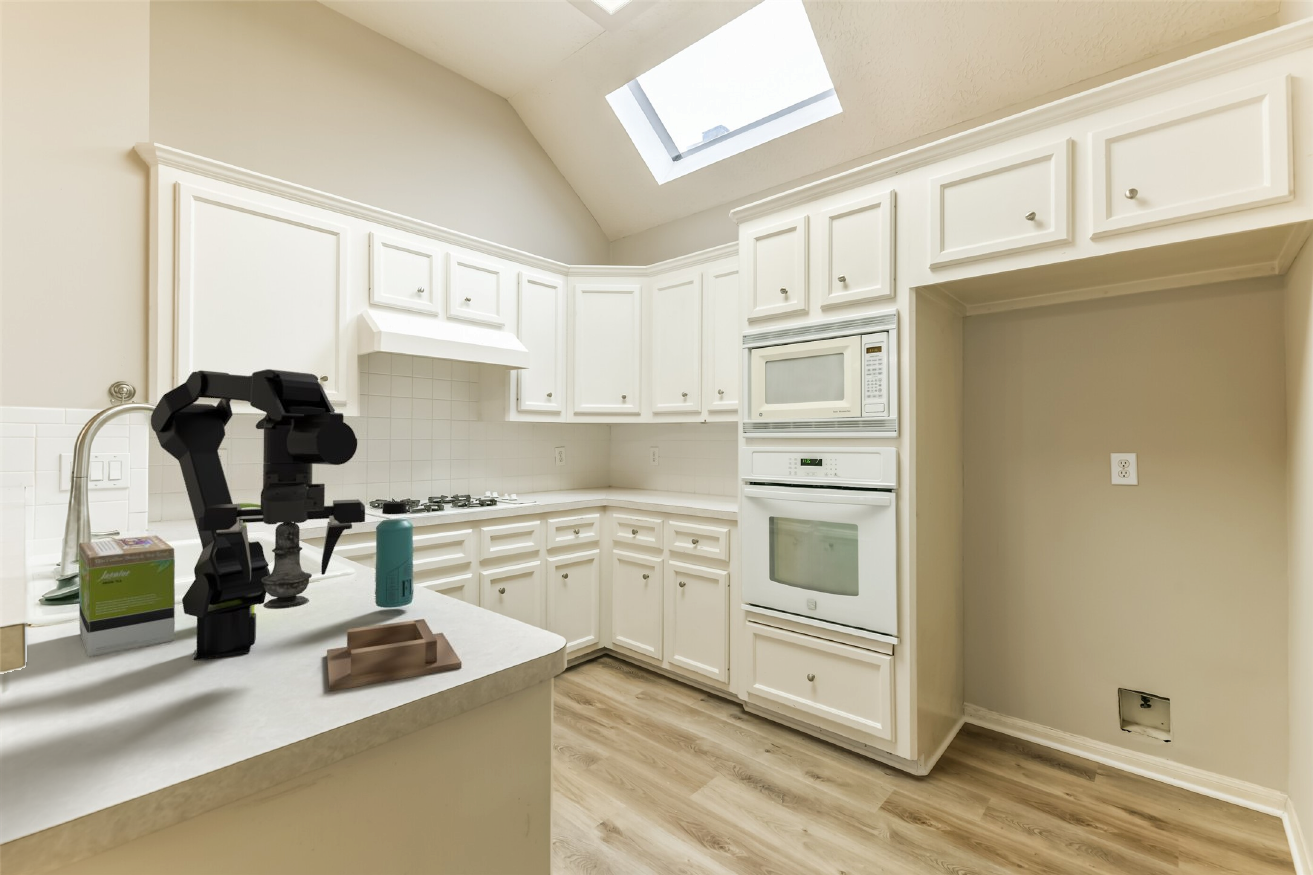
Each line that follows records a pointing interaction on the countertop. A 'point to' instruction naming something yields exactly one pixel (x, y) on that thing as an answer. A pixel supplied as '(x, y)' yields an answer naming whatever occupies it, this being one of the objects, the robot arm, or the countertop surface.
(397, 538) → the beverage bottle
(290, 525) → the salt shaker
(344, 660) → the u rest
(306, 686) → the countertop surface
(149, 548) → the tea box
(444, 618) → the countertop surface
